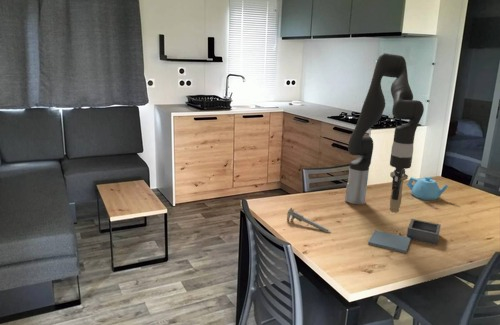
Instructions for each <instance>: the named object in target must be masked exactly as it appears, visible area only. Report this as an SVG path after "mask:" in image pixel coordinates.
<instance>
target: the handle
mask: <svg viewBox="0 0 500 325" xmlns="http://www.w3.org/2000/svg"><path fill="white" fill-rule="evenodd" d="M390 177H391V178H392V179H393V171H392V172H390ZM408 179H409V175H408V174H406V173H405V175H404V176H401V179H400V182H401V180H402V185H400V190H399V197H398V200H393V199H392V193H393V190H392V189H391V194H390V198H389V199H390V200H389V212H391V213H395V214H397V213H399V211H400V207H401V203H402V197H403V183H404V181H406V180H408ZM395 187H398V186H397V185H395Z"/></svg>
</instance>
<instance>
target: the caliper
mask: <svg viewBox="0 0 500 325" xmlns="http://www.w3.org/2000/svg"><path fill="white" fill-rule="evenodd" d="M294 210H295V209H294V208H293V207H290V209H288V211H287V214H286V221H290V222H293V221H294V220H295V219H296V220H297V221H299V222H300V223H301V222H305V223H306V224H308V225H310V226H312V227H314V228H316V229H318V230H320V231H321V232H325V233H328V234H331V233H332V231H331V230H329V228H327V227H325V226H323V225H321V224H319V223H317V222H315V221H312V220H311V219H309V218H307V217H305V216H304V215H302V214H301V213H298V212H296V211H294ZM290 217H291V218H290Z"/></svg>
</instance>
